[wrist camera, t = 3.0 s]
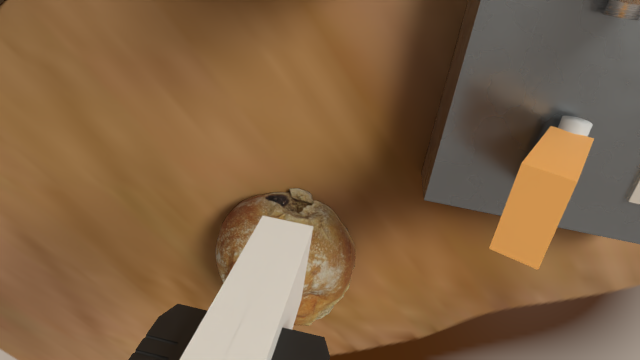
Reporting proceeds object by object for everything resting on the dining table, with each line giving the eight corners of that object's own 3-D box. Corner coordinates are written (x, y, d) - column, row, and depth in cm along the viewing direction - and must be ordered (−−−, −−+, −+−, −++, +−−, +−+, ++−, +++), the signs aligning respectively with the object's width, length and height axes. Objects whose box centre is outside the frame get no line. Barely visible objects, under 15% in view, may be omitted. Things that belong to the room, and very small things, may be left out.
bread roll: (358, 186, 36) (343, 187, 28) (361, 317, 35) (348, 355, 28) (239, 189, 37) (194, 191, 30) (241, 313, 37) (197, 348, 29)
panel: (421, 172, 30) (432, 288, 19) (510, -153, 22) (614, -269, 11) (637, 215, 29) (779, 364, 18) (812, -112, 21) (1250, -196, 10)
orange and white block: (524, 195, 26) (485, 258, 19) (558, 112, 23) (525, 151, 17) (562, 209, 25) (533, 279, 18) (600, 123, 22) (583, 169, 16)
